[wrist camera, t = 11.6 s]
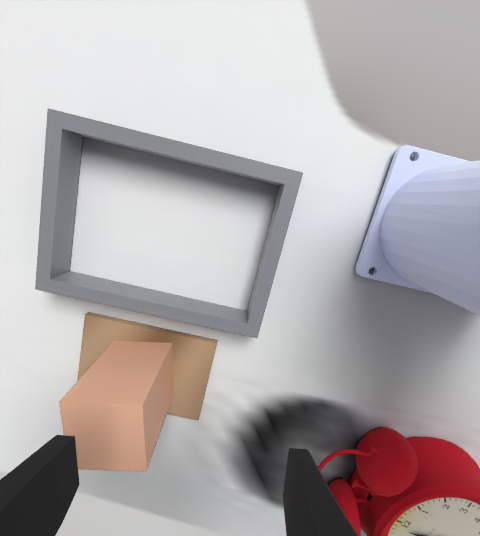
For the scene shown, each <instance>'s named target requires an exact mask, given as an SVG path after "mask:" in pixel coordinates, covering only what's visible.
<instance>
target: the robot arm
mask: <svg viewBox="0 0 480 536" xmlns="http://www.w3.org/2000/svg"><path fill="white" fill-rule="evenodd" d="M411 153H414V155H415V159H414V160H413V161H411V160H410V154H411ZM372 267H374V272H373V273H371V274H369V269H370V268H372ZM355 270H356V273H357V274H358V275H360V276H362V277H365V278H369V279H374V280H378V281H382V282H386V283H391V284H395V285H399V286H403V287H408V288H412V289H416V290H420V291H424V292H429V293H433V294H436V295H438V296H440V297H442V298H444V299H446V300H448V301H450V302H452V303H454V304H456V305H458V306H460V307H462V308H464V309H466V310H468V311H470V312H472V313H474V314H476V315H478V316H480V160H478V161H472V162H470V161H467V160H463V159H459V158H455V157H451V156H448V155H444V154H440V153H436V152H432V151H429V150H425V149H421V148H417V147H413V146H409V145H405V146H402V147H399V148H398V149H397V150H396V152H395V154H394V157H393V160H392V162H391V165H390V168H389V171H388V174H387V177H386V180H385V183H384V186H383V189H382V191H381V194H380V197H379V200H378V203H377V206H376V209H375V212H374V215H373V218H372V220H371V223H370V226H369V229H368V232H367V235H366V238H365V241H364V244H363V247H362V249H361V252H360V255H359V258H358V261H357V264H356V267H355ZM78 486H79V475H78V464H77V453H76V442H75V436H65V435H56V436H55V437H54V438H52V439H51V440H50V441H48V442H47V443H46V444H45V445H43V446H42V447H41V448H40V449H38V450H37V451H36V452H35V453H33V454H32V455H31V456H30V457H29V458H27V459H26V460H25V461H24V462H22V463H21V464H20V465H19V466H17V467H16V468H15V469H14V470H12V471H11V472H10V473H8V474H7V475H6V476H5V477H3V478H2V479H1V480H0V536H55V535H56V533H57V531H58V529H59V528H60V526H61V524H62V522H63V520H64V517H65V515H66V513H67V511H68V509H69V507H70V505H71V502H72V500H73V498H74V496H75V493H76V491H77V489H78ZM283 501H284V513H285V523H286V534H287V536H358V534H357V533H356V531H355V530H354V528H353V527H352V525H351V523H350V522H349V520H348V519H347V517H346V515H345V514H344V512H343V510H342V509H341V507H340V506H339V504H338V502H337V501H336V499H335V497H334V496H333V494H332V492H331V491H330V489H329V487H328V485H327V484H326V482H325V480H324V478H323V476H322V475H321V473H320V471H319V469H318V467H317V465H316V463H315V462H314V460H313V458H312V456H311V454H310V452H309V451H308V450H307V449H293V448H289V452H288V460H287V468H286V476H285V484H284V492H283Z"/></svg>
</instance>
